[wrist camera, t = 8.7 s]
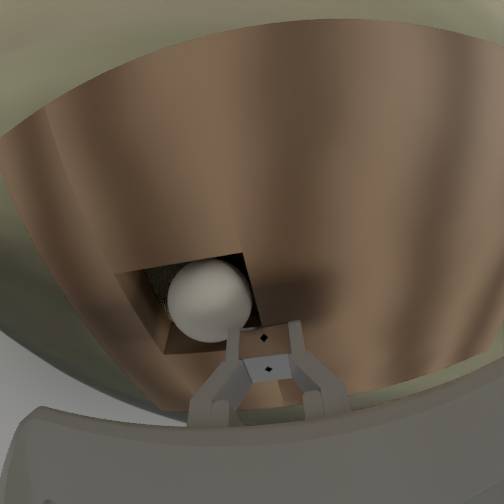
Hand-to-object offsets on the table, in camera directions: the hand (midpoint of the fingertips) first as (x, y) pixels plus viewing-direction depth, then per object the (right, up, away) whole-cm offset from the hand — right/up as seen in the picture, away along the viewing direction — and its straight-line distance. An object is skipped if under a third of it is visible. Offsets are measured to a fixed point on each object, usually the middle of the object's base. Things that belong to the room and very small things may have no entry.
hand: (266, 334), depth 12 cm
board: (+4, +3, +3) cm, 5 cm away
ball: (-3, +1, +2) cm, 3 cm away
